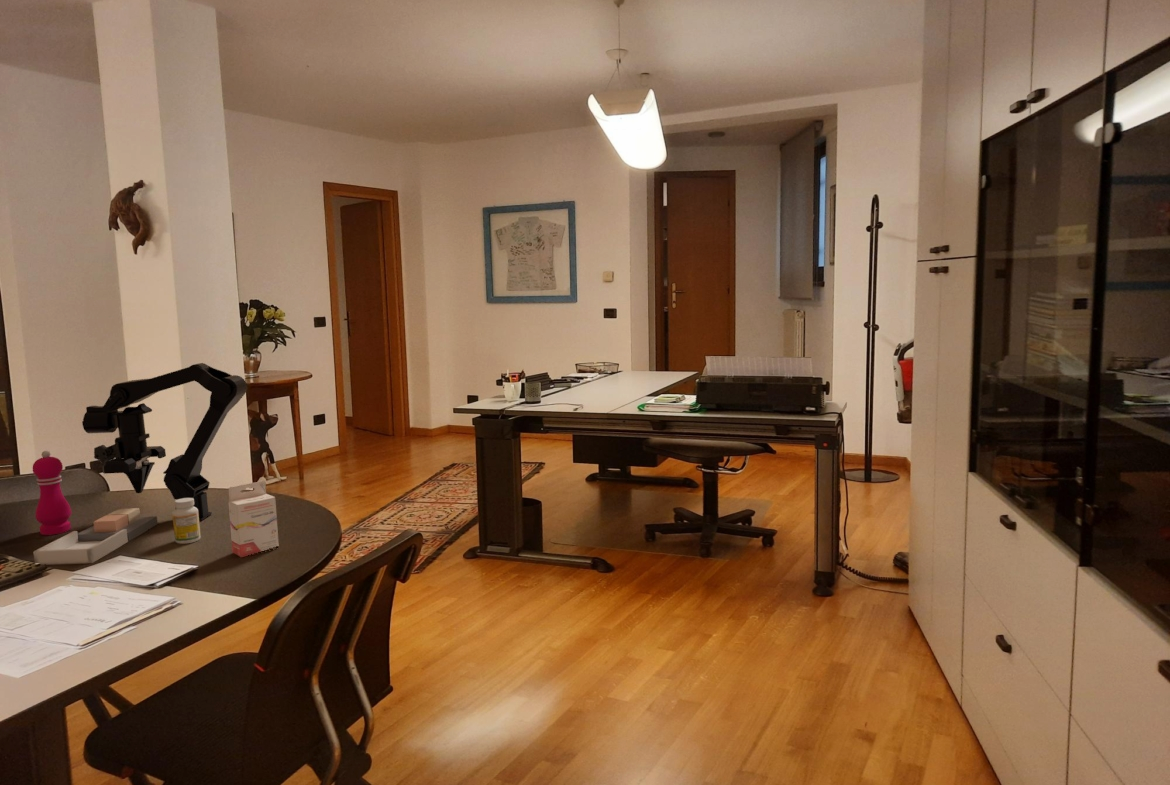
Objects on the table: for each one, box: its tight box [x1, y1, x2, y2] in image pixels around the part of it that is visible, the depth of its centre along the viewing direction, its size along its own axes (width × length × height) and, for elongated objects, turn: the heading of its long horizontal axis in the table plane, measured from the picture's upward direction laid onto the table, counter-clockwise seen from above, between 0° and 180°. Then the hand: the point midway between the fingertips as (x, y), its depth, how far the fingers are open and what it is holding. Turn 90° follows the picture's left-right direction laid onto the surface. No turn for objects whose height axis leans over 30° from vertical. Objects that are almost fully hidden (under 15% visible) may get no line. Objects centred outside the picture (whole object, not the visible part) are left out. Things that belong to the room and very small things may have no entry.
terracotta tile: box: [93, 514, 128, 532], centre depth 187 cm, size 5×5×2 cm
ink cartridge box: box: [228, 480, 280, 558], centre depth 173 cm, size 9×5×15 cm, turn 135°
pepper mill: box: [32, 450, 72, 536], centre depth 192 cm, size 7×7×20 cm
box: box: [32, 529, 129, 566], centre depth 176 cm, size 12×14×3 cm
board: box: [77, 515, 159, 542], centre depth 190 cm, size 12×13×2 cm
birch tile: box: [107, 507, 141, 524], centre depth 192 cm, size 5×5×2 cm
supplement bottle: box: [171, 498, 202, 545], centre depth 182 cm, size 5×5×10 cm
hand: (139, 492), depth 199 cm, fingers closed
